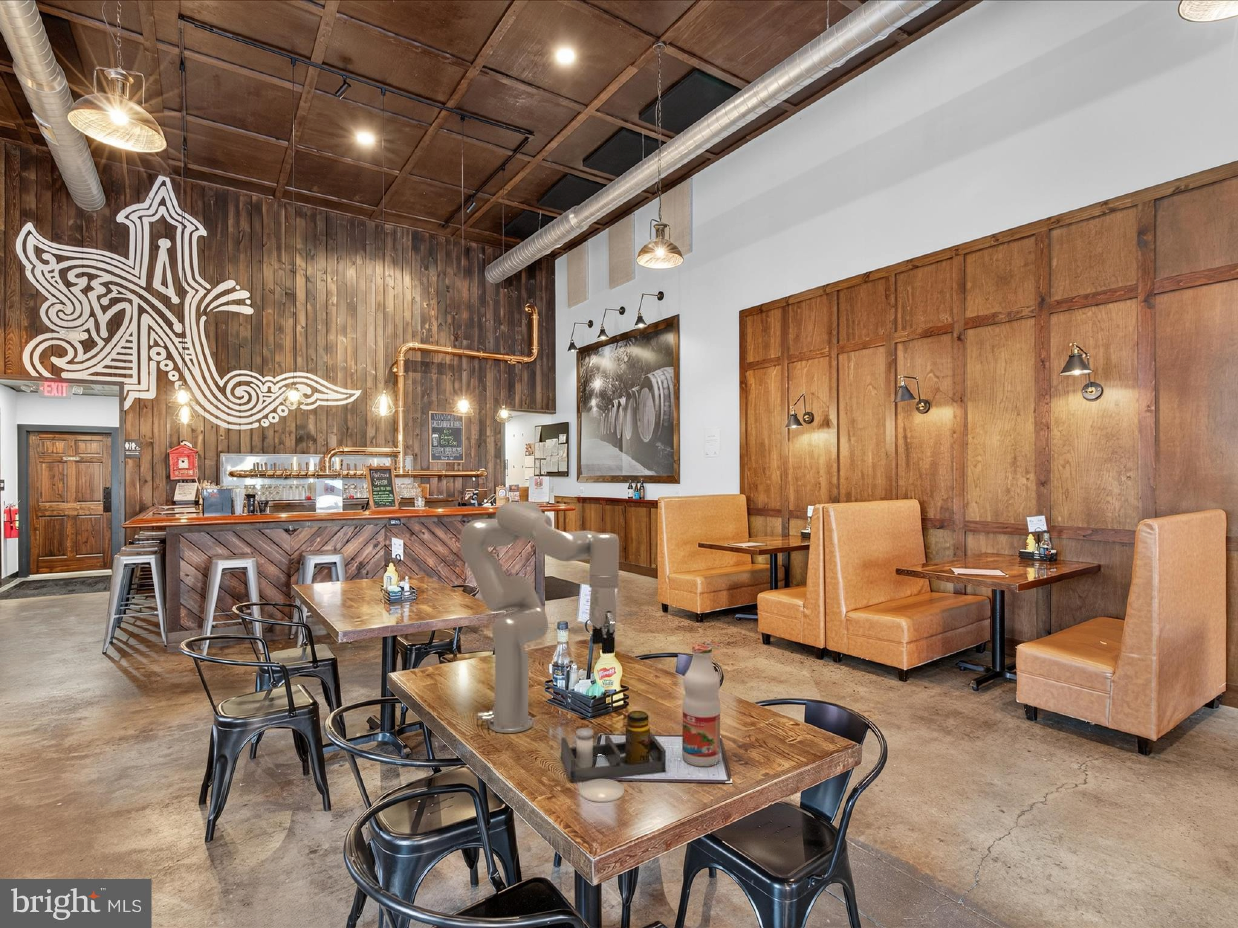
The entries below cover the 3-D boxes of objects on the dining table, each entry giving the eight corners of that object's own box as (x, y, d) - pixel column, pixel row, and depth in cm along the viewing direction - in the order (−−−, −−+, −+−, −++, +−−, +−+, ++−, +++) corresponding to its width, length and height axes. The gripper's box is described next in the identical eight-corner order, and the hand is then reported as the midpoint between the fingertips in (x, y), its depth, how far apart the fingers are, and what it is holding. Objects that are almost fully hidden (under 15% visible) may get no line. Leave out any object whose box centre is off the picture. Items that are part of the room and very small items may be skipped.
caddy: (570, 782, 144) (571, 760, 144) (561, 758, 156) (561, 738, 156) (665, 771, 150) (665, 750, 150) (648, 749, 162) (649, 729, 162)
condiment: (654, 767, 152) (654, 717, 152) (620, 771, 150) (620, 720, 150) (646, 755, 159) (646, 707, 159) (613, 757, 157) (614, 709, 157)
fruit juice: (727, 759, 157) (728, 647, 158) (703, 771, 150) (704, 653, 151) (698, 747, 164) (699, 639, 164) (674, 758, 157) (675, 645, 158)
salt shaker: (577, 768, 151) (578, 735, 151) (574, 761, 155) (574, 728, 155) (594, 767, 152) (595, 733, 152) (590, 759, 156) (591, 727, 156)
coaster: (584, 804, 134) (584, 802, 134) (575, 782, 144) (575, 781, 144) (629, 799, 136) (629, 797, 136) (617, 778, 146) (617, 776, 146)
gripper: (582, 576, 169) (581, 640, 168) (598, 587, 152) (597, 658, 152) (609, 576, 171) (608, 639, 170) (627, 586, 154) (626, 656, 154)
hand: (603, 648), depth 161 cm, fingers open, 9 cm apart
